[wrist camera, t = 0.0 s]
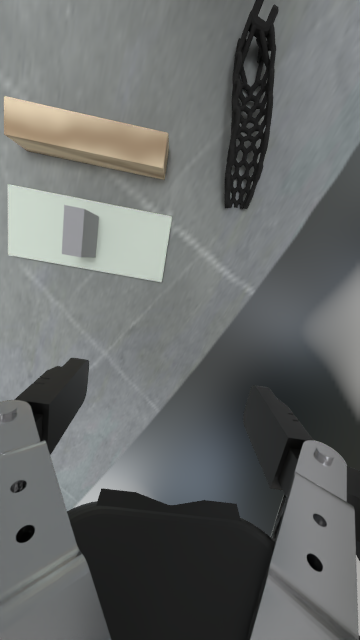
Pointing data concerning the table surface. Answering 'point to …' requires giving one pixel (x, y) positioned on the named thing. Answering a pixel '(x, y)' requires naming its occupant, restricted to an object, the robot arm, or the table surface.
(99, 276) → the table surface
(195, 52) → the table surface
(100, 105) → the table surface
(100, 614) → the robot arm
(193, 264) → the table surface
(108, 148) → the plank
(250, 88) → the decorative element
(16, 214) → the fulcrum
